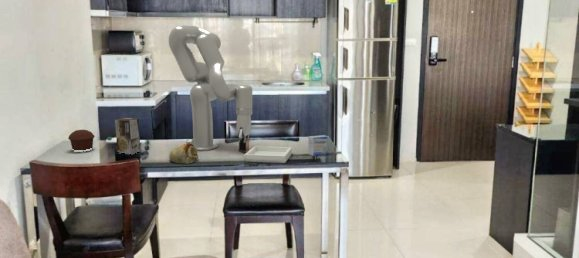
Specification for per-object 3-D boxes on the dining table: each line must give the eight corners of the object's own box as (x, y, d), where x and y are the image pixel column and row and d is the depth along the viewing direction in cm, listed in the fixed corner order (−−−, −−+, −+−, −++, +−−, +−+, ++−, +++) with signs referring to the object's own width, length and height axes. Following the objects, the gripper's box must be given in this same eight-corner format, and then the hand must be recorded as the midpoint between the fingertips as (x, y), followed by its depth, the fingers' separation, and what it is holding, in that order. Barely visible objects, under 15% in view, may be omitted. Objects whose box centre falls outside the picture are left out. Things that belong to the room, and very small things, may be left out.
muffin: (94, 147, 249) (93, 127, 247) (96, 151, 239) (95, 131, 238) (68, 149, 244) (66, 129, 242) (69, 154, 234) (67, 133, 233)
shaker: (237, 151, 239) (237, 138, 238) (240, 148, 244) (240, 136, 243) (247, 151, 238) (247, 139, 237) (250, 149, 243) (250, 137, 242)
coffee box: (141, 152, 239) (139, 118, 236) (131, 155, 233) (129, 120, 230) (126, 150, 242) (124, 117, 239) (116, 153, 237) (114, 119, 234)
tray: (244, 161, 220) (244, 154, 220) (254, 152, 238) (254, 146, 237) (284, 163, 217) (284, 156, 217) (292, 153, 235) (292, 147, 234)
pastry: (199, 163, 217) (198, 145, 215) (169, 165, 214) (168, 147, 213) (197, 156, 230) (196, 139, 229) (169, 158, 228) (168, 140, 226)
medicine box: (313, 156, 230) (313, 137, 228) (308, 154, 234) (308, 136, 232) (327, 154, 233) (328, 136, 232) (322, 152, 237) (323, 134, 236)
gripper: (241, 108, 246) (241, 145, 250) (231, 113, 230) (231, 152, 233) (256, 109, 245) (256, 146, 248) (247, 114, 229) (247, 153, 232)
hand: (244, 149), depth 241 cm, fingers closed on shaker, 5 cm apart
